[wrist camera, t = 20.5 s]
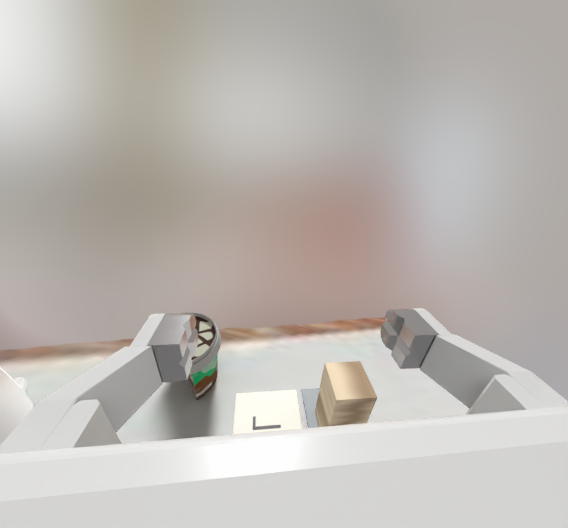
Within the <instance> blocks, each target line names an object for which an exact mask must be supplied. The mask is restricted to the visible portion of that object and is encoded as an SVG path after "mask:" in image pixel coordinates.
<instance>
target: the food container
mask: <svg viewBox="0 0 568 528" xmlns="http://www.w3.org/2000/svg"><path fill="white" fill-rule="evenodd" d="M180 314H194V315H195V319H196V323H195V326H194V328H195V329H197V331H198V345H197V350H196V354H195V355H194V356H193V357H192V358H191V360H192V367H191V370H190V373H189V376H188V379H189V382H190V384H191V387H192V390H193V392H194V395H195V398H196V400H198V399H199V398H201V397H202V396H204V395H205V394H206V393H207V392H208V391H209V390H210V389H211V387H212V386H213V384H214V382H215V381H216V377H217V353H218V351H219V348H220V345H221V335H220V332H219V330H218V328H217V326H216V324H215V323H214V322H213V321H212V319H210V318H209V317H207V316H205V315H202V314H199V313H180Z"/></svg>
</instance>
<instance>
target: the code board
mask: <svg viewBox="0 0 568 528" xmlns="http://www.w3.org/2000/svg"><path fill="white" fill-rule="evenodd" d="M319 389H320V388H316V389H302V396H303V401H304V407H305V412H306V418H307V424H308V428H314V427H318V422H317V418H316V413H315V408H316V403H317V398H318V394H319ZM290 429H302V426H301V419H300V413H299V406H298V400H297V394H296V390H284V391H268V392H252V393H236V404H235V415H234V426H233V434H243V433H255V432H266V431H278V430H290Z"/></svg>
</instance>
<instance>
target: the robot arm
mask: <svg viewBox="0 0 568 528" xmlns="http://www.w3.org/2000/svg"><path fill="white" fill-rule="evenodd" d="M385 318H386V320H387V321H386V322H385V323H384V324H383V325H382V328H381V338H382V341H383V343H384V344H385V346H386V347H387V348H389V349H390V350H392V354H391V355H392V357H393V358H394V360H395V361H396V363H397V364H398V366H399V367H400V369H407V368H420V370H421V371H423V372H424V373H425V374H426V375H428V376H429V377H430V378H432V379H433V380H434V381H435V382H437V383H438V384H439V385H440V386H442V387H443V388H444V389H446V390H447V391H448V392H449V393H451V394H452V395H453V396H454V397H456V398H457V399H458V400H459V401H461V402H462V403H463V404H465V405H466V406H467V407H468V408H470V409H469V410H468V412H467V413H466V414H465V415H456V416H445V417H433V418H421V419H409V420H397V421H386V422H374V423H362V424H350V425H338V426H326V427H314V428H302V429H290V430H278V431H266V432H255V433H243V434H231V435H219V436H207V437H195V438H183V439H172V440H160V441H148V442H136V443H124V444H121V442H120V440H119V438H118V436H117V434H116V432H117V431H118V430H119V429H120V428H121V427H122V426H123V424H124V423H125V422H126V421H127V420H128V419H129V418H130V417H131V416H132V415H133V414H134V413H135V412H136V411H137V410H138V409H139V408H140V407H141V406H142V405H143V404H144V403H145V401H146V400H147V399H148V398H149V397H150V396H151V395H152V394H153V393H154V392H155V391H156V390H157V389H158V388H159V387H160V386H161V385H162V382H173V381H185V380H187V379H188V376H189V373H190V370H191V367H192V360H191V358H192V357H193V356H194V355H195V354H196V350H197V345H198V331H197V329H195V328H194V326H195V323H196V319H195V315H194V314H152V315H150V316H149V318H148V319H147V321H146V322H145V324H144V326H143V327H142V329H141V330H140V332H139V333H138V334H137V336H136V337H135V339H134V340H133V342H132V344H131V345H130V347H124V348H122V349H121V350H119V351H117V352H116V353H114V354H113V355H111V356H110V357H108V358H106V359H105V360H103V361H102V362H100V363H99V364H97V365H95V366H94V367H92V368H91V369H89V370H87V371H86V372H84V373H83V374H81V375H80V376H78V377H76V378H75V379H73V380H72V381H70V382H69V383H67V384H65V385H64V386H62V387H61V388H59V389H57V390H56V391H54V392H53V393H51V394H50V395H48V396H46V397H45V398H43V399H42V400H40V401H39V402H38V403H37V404H36V405H35V406H33V403H32V401H31V399H30V398H29V397H28V396H27V395H26V390H27V381H26V380H25V379H24V378H21V377H19V378H13V379H12V378H11V377H10V376H9V375H8V374H7V373H6V372H5V371H4V370H3V369H2V368H1V367H0V528H568V401H567V400H565V399H564V398H563V397H562V396H560V395H559V394H558V393H557V392H555V391H554V390H553V389H552V388H550V387H549V386H548V385H547V384H546V383H544V382H543V381H542V380H541V379H540V378H538V377H537V376H536V375H535V374H533V373H532V372H531V371H529V370H527V369H524V368H522V367H520V366H518V365H516V364H514V363H512V362H510V361H508V360H506V359H504V358H502V357H500V356H498V355H496V354H494V353H491V352H490V351H488V350H486V349H484V348H482V347H480V346H478V345H476V344H473V343H471V342H469V341H467V340H465V339H463V338H461V337H459V336H457V335H452V334H451V333H450V332H449V331H448V330H447V329H446V328H444V327H443V326H442V325H441V324H440V323H439V322H438V321H437V320H436V319H435V318H434V317H433V316H432V315H431V314H430V313H429V312H428V311H427V310H424V309H422V308H417V309H394V310H388V312H387V313H386V316H385Z"/></svg>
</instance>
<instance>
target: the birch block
mask: <svg viewBox="0 0 568 528" xmlns="http://www.w3.org/2000/svg"><path fill="white" fill-rule="evenodd" d="M376 399H377V396H376V394H375V392H374V389H373V387H372V385H371V383H370V381H369V379H368V377H367V375H366V373H365V371H364V368H363V366H362V364H361V362H360V361H358V362H337V363H325V365H324V370H323V375H322V379H321V384H320V389H319V394H318V398H317V403H316V408H315V413H316V418H317V422H318V427H326V426H338V425H350V424H362V423H367V421H368V419H369V416H370V414H371V411H372V409H373V407H374V404H375V402H376Z"/></svg>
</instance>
